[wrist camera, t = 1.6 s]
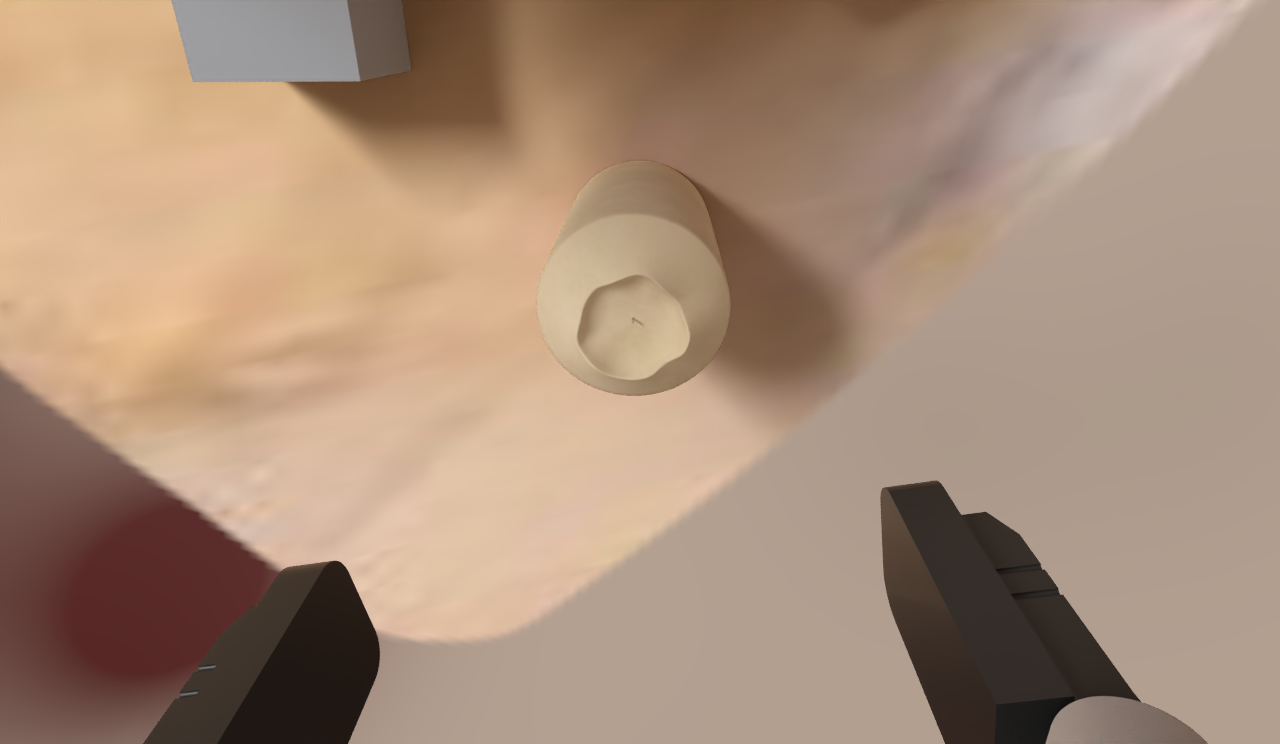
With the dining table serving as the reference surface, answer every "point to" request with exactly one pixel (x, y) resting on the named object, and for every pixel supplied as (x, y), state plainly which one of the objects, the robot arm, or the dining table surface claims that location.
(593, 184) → the candle
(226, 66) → the slate block
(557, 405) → the dining table surface
